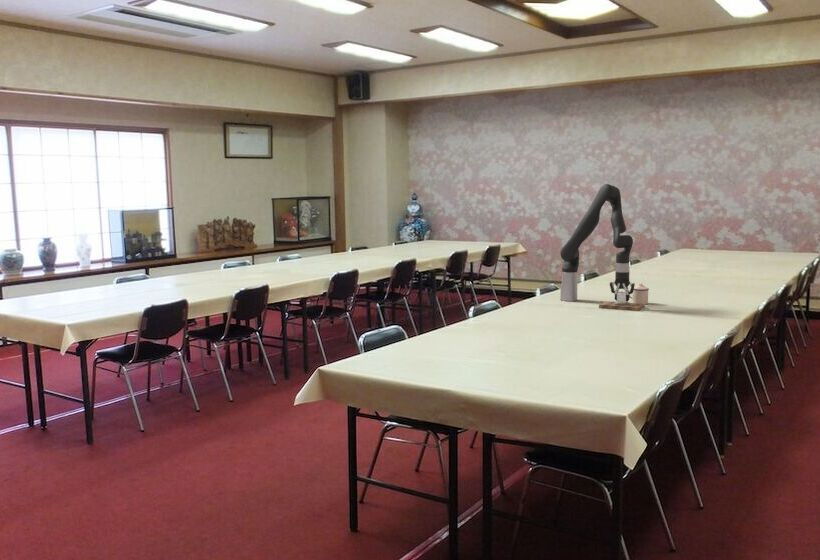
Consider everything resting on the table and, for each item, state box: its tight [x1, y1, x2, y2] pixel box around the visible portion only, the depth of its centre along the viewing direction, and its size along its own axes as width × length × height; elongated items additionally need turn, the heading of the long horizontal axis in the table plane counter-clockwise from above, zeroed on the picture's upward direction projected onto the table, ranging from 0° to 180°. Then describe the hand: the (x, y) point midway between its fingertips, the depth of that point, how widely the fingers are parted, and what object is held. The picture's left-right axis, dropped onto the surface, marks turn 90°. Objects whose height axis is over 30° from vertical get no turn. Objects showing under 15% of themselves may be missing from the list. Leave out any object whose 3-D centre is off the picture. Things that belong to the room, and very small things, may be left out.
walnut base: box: [598, 301, 646, 312], centre depth 415 cm, size 22×13×3 cm, turn 59°
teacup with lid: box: [629, 282, 650, 305], centre depth 428 cm, size 12×9×12 cm
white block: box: [616, 290, 628, 304], centre depth 414 cm, size 8×5×6 cm, turn 156°
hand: (621, 300), depth 415 cm, fingers closed on white block, 5 cm apart
